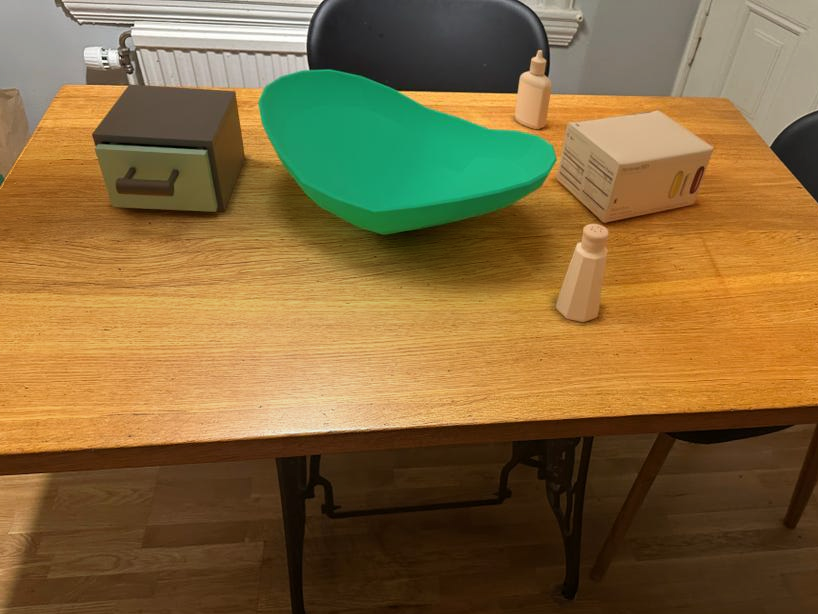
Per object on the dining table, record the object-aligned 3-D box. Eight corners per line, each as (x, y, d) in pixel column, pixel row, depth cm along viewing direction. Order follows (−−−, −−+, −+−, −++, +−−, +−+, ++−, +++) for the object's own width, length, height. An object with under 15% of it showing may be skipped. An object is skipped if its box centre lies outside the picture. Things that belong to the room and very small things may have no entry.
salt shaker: (592, 293, 85) (612, 215, 78) (605, 322, 81) (628, 243, 74) (549, 294, 84) (566, 216, 77) (561, 323, 80) (579, 244, 73)
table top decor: (217, 208, 91) (198, 109, 82) (348, 135, 110) (345, 48, 100) (478, 324, 79) (490, 224, 70) (576, 220, 97) (596, 130, 88)
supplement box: (604, 225, 97) (619, 164, 91) (554, 180, 105) (565, 120, 99) (696, 205, 104) (716, 146, 97) (643, 164, 112) (658, 107, 105)
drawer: (207, 233, 85) (195, 174, 80) (99, 228, 84) (79, 168, 78) (236, 160, 99) (227, 106, 93) (143, 155, 97) (129, 100, 92)
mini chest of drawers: (224, 211, 91) (211, 141, 84) (113, 206, 89) (91, 134, 83) (245, 157, 101) (235, 91, 95) (146, 152, 100) (129, 84, 93)
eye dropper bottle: (523, 131, 116) (533, 57, 108) (512, 116, 120) (521, 44, 112) (547, 129, 118) (559, 57, 110) (535, 115, 121) (546, 44, 113)
